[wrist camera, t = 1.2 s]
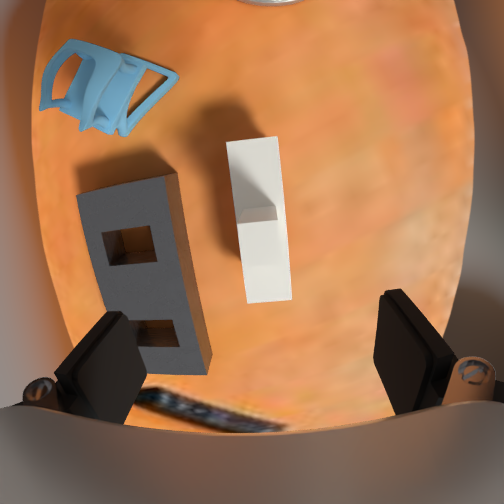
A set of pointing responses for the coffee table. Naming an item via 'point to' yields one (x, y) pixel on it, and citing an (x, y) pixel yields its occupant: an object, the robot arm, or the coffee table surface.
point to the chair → (102, 87)
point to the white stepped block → (260, 218)
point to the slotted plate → (149, 271)
